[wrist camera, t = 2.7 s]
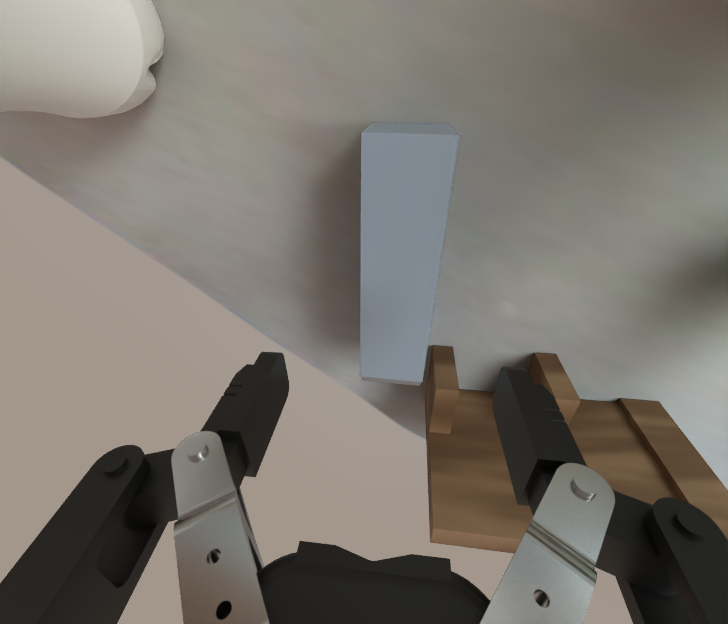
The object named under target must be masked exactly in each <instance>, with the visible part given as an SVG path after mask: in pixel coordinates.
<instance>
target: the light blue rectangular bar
mask: <svg viewBox="0 0 728 624" xmlns="http://www.w3.org/2000/svg"><path fill="white" fill-rule="evenodd" d="M459 137H460V135H459V134H458V133H457V132H456V130H455V129H454V128H453V127H452V126H451V125H450V124H443V123H399V122H372V123H371V124H370V125H369V126H368V127H367V128H366V129H365V130H363V131H362V132H361V276H360V376H362V380H364V381H374V382H384V383H395V384H405V385H415V386H420V382H422V381H423V374H424V368H425V361H426V355H427V348H428V341H429V335H430V328H431V322H432V315H433V308H434V302H435V295H436V289H437V282H438V275H439V269H440V262H441V256H442V249H443V242H444V236H445V229H446V223H447V216H448V209H449V203H450V196H451V190H452V183H453V176H454V170H455V163H456V156H457V150H458V143H459Z"/></svg>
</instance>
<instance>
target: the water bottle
mask: <svg viewBox="0 0 728 624" xmlns="http://www.w3.org/2000/svg"><path fill="white" fill-rule="evenodd" d="M163 50H164V33H163V29H162V25H161V22H160V19H159V16H158V14H157V11H156V9H155V7H154V5H153V3H152V1H151V0H0V112H9V111H31V112H44V113H50V114H56V115H60V116H65V117H70V118H94V117H105V116H110V115H115V114H119V113H124V112H127V111H129V110H131V109H133V108H135V107H137V106H138V105H140V104H142V103H143V102H144V101H145V100H146V99H147V98H148V97H149V96H150V95H151V94H152V93H153V92H154V91H155V87H156V82H155V78H154V76H153V75H152V73H151V72H150V71H149V70H148V69H149V67H150V65H152V64H154V63H156V62H157V61H158V60H159V59H160V58H161V56H162V54H163Z"/></svg>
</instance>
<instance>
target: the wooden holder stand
mask: <svg viewBox="0 0 728 624" xmlns="http://www.w3.org/2000/svg"><path fill="white" fill-rule="evenodd" d="M528 373H529V375H530V377H531V380H532V382H533V384H542V385H543V386H544V387H545V388H546V389H547V390H548V391H549V392H550V393H551V394H552V395H553V396H554V398H555V400H556V402H557V404H558V406H559V408H560V412H562V415H563V417H564V419H565V423H567V425H568V427H569V429H570V431H571V433H572V435H573V438H574V440H575V442H576V444H577V446H578V448H579V450H580V452H581V454H582V456H583V458H584V461H585V463H586V465H587V466H588V468H590V469H592V470H594V471H595V472H597V473H598V474H599V475H601V476H602V477H603V478H604V479H605V480H606V481H607V483H608V484H609V485H610V487H611V488H612V489H613V490H615V491H617V492H619V493H622V494H624V495H627V496H630V497H633V498H635V499H638V500H641V501H643V502H646V503H649V504H652V505H653V504H654V503H655V502H656V501H657V500H658V499H660V498H663V497H672V498H677V499H680V500H683V501H685V502H688V503H690V504H692V505H693V506H695V507H697V508H698V509H700V510H701V511H703V512H704V513H705V514H706V515H708V516H709V517H710V518H711V519H712V520H713V521H714V522H715V523H716V524H717V525H718V527H719V528H720V529H721V531H722V532H723V534H724V535H725V537H726V538H727V540H728V490H727V489H726V487H725V486H724V485H723V484H722V482H721V481H720V480H719V478H718V477H717V476H716V475H715V473H714V472H713V471H712V469H711V468H710V467H709V466H708V464H707V463H706V462H705V460H704V459H703V458H702V457H701V455H700V454H699V453H698V451H697V450H696V449H695V448H694V446H693V445H692V444H691V442H690V441H689V440H688V438H687V437H686V436H685V435H684V433H683V432H682V431H681V429H680V428H679V427H678V426H677V424H676V423H675V422H674V420H673V419H672V418H671V417H670V415H669V414H668V413H667V411H666V410H665V409H664V408H663V406H662V405H661V404H660V402H659V401H647V400H635V399H622V398H620V400H619V401H618V403H616V402H604V401H592V400H580V398H579V397H578V395H577V393H576V391H575V389H574V387H573V385H572V383H571V381H570V380H569V378H568V376H567V374H566V372H565V370H564V368H563V366H562V364H561V363H560V361H559V359H558V357H557V355H556V354H547V353H535V354H534V356H533V359H532V362H531V365H530V367H529V370H528ZM494 393H495V392H485V391H473V390H461V389H459V386H458V379H457V372H456V366H455V359H454V352H453V347H448V346H433V347H432V354H431V362H430V369H429V376H428V383H427V391H426V398H425V414H426V441H427V468H428V494H429V520H430V521H429V522H430V542H431V543H439V544H446V545H454V546H462V547H470V548H477V549H485V550H492V551H500V552H508V553H515V551H516V549H517V547H518V545H519V543H520V541H521V539H522V537H523V535H524V533H525V531H526V529H527V527H528V525H529V523H530V521H531V519H532V518H533V515H532V512H531V508H530V506H525V505H517V501H516V497H515V493H514V490H513V486H512V482H511V478H510V474H509V471H508V467H507V463H506V459H505V456H504V452H503V448H502V444H501V440H500V437H499V433H498V429H497V425H496V421H495V418H494V414H493V397H494Z"/></svg>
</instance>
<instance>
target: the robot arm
mask: <svg viewBox="0 0 728 624" xmlns="http://www.w3.org/2000/svg"><path fill="white" fill-rule="evenodd" d="M229 385H230V386H229V387H228V388H227V389H226V391H225V392H224V396H222V397H221V399H220V401H219V402H218V404H217V406H216V407H215V409H214V410H213V412H212V414H211V415H210V417H209V419H208V420H207V422H206V423H205V425H204V427H203V428H202V430H201V431H200V432H197V433H194V434H192V435H190V436H188V437H186V438H185V439H184V440H183V441H182V442H180V443H179V444H178V446H177V447H176V448H175V449H171V450H166V451H161V452H157V453H151V454H146V455H145V454H144V452H143V451H142V449H141V448H139V447H138V446H135V445H125V446H121V447H118V448H115V449H113V450H111V451H109V452H108V453H106V454H104V455H103V456H102V457H101V458H99V459H98V460H97V461H96V462H95V463H94V465H93V466H92V467H91V468H90V470H89V471H88V472H87V473H86V475H85V476H84V477H83V479H82V480H81V481H80V483H79V484H78V485H77V486H76V488H75V489H74V490H73V491H72V493H71V494H70V496H68V498H67V499H66V500H65V502H64V503H63V504H62V505H61V507H60V508H59V510H58V511H57V512H56V513H55V514H54V516H53V517H52V518H51V519H50V521H49V522H48V523H47V525H46V526H45V527H44V528H43V530H42V531H41V532H40V534H39V535H38V536H37V537H36V539H35V540H34V541H33V542H32V544H31V545H30V546H29V548H28V549H27V550H26V551H25V553H24V554H23V555H22V556H21V558H20V559H19V560H18V562H17V563H16V564H15V565H14V567H13V568H12V569H11V571H10V572H9V573H8V574H7V576H6V577H5V578H4V579H3V581H2V582H1V583H0V624H117V622H118V620H119V618H120V616H121V614H122V613H123V610H124V609H125V606H126V605H127V602H128V601H129V599H130V596H131V595H132V593H133V590H134V589H135V587H136V585H137V583H138V581H139V579H140V577H141V575H142V573H143V571H144V569H145V567H146V565H147V563H148V561H149V559H150V557H151V555H152V553H153V551H154V549H155V547H156V545H157V543H158V541H159V539H160V537H161V535H162V533H163V531H164V529H165V527H166V525H167V523H168V522H169V521H174V520H178V521H177V522H176V523H175V524H174V540H175V549H176V558H177V567H178V576H179V586H180V595H181V604H182V613H183V622H184V624H583V623H584V620H585V617H586V613H587V610H588V607H589V604H590V601H591V597H592V594H593V591H594V588H595V584H596V579H597V572H596V571H594V569H595V567H597V568H599V569H601V570H603V571H605V572H607V573H610V574H612V575H614V576H616V579H617V582H618V584H619V587H620V590H621V592H622V595H623V597H624V600H625V603H626V605H627V608H628V611H629V613H630V616H631V619H632V621H633V624H728V540H727V538H726V537H725V535H724V534H723V532H722V531H721V529H720V528H719V527H718V525H717V524H716V523H715V522H714V521H713V520H712V519H711V518H710V517H709V516H708V515H706V514H705V513H704V512H703V511H701V510H700V509H698V508H697V507H695V506H693V505H692V504H690V503H688V502H685V501H683V500H680V499H677V498H672V497H663V498H660V499H658V500H657V501H656V502H655V503H654V504H653V505H652V504H649V503H646V502H643V501H641V500H638V499H635V498H633V497H630V496H627V495H624V494H622V493H619V492H617V491H615V490H613V489H612V488H611V487H610V485H609V484H608V483H607V481H606V480H605V479H604V478H603V477H602V476H601V475H599V474H598V473H597V472H595V471H594V470H592V469H590V468H588V466H587V465H586V463H585V461H584V458H583V456H582V454H581V452H580V450H579V448H578V446H577V444H576V442H575V440H574V438H573V435H572V433H571V431H570V429H569V427H568V425H567V423H565V419H564V417H563V415H562V412H560V408H559V406H558V404H557V402H556V400H555V398H554V396H553V395H552V394H551V393H550V392H549V391H548V390H547V389H546V388H545V387H544V386H543V385H542V384H533V382H532V380H531V377H530V375H529V373H528V371H527V369H525V368H510V367H503V368H502V369H501V371H500V375H499V379H498V382H497V386H496V389H495V393H494V397H493V414H494V418H495V421H496V425H497V429H498V433H499V437H500V440H501V444H502V448H503V452H504V456H505V459H506V463H507V467H508V471H509V474H510V478H511V482H512V486H513V490H514V493H515V497H516V501H517V505H525V506H530V508H531V512H532V515H533V518H532V519H531V521H530V523H529V525H528V527H527V529H526V531H525V533H524V535H523V537H522V539H521V541H520V543H519V545H518V547H517V549H516V551H515V553H514V556H513V557H512V559H511V561H510V564H509V565H508V567H507V569H506V571H505V573H504V575H503V577H502V579H501V581H500V583H499V585H498V587H497V589H496V591H495V593H494V595H493V597H492V599H491V601H490V600H489V599H488V598H487V597H486V596H485V595H484V594H483V593H482V592H481V591H480V590H479V589H478V588H477V587H476V586H475V585H473V584H472V583H471V582H469V581H468V580H467V579H465V578H463V577H462V576H460V575H458V574H456V573H454V572H452V571H451V566H450V559H447V558H437V557H429V556H422V555H413V554H411V555H406V556H400V557H395V558H390V559H384V560H378V561H370V560H367V559H365V558H363V557H361V556H358V555H356V554H354V553H352V552H349V551H347V550H345V549H343V548H340V547H338V546H336V545H329V544H321V543H312V542H304V541H300V542H299V547H298V550H297V552H296V553H291V554H288V555H286V556H283V557H281V558H279V559H277V560H274V561H273V562H271V563H270V564H268V565H267V566H265V567H264V565H263V562H262V558H261V556H260V552H259V550H258V547H257V544H256V541H255V537H254V534H253V531H252V527H251V524H250V520H249V517H248V514H247V510H246V507H245V503H244V500H243V497H242V493H241V489H240V485H241V483H242V480H243V478H244V476H250V477H256V475H257V472H258V470H259V467H260V465H261V462H262V460H263V457H264V455H265V452H266V449H267V447H268V444H269V442H270V440H271V437H272V435H273V432H274V430H275V427H276V424H277V422H278V419H279V417H280V415H281V412H282V409H283V407H284V404H285V402H286V399H287V396H288V392H289V380H288V375H287V370H286V364H285V360H284V356H283V354H282V353H276V352H262V353H261V354H260V355H259V357H258V358H257V360H256V362H255V364H254V365H248V364H247V365H246V366H245V367H243V368H242V369H241V370H240V371H239V372H237V373H236V375H235V376H234V378H233V379H232V381H231V383H230V384H229Z"/></svg>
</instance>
